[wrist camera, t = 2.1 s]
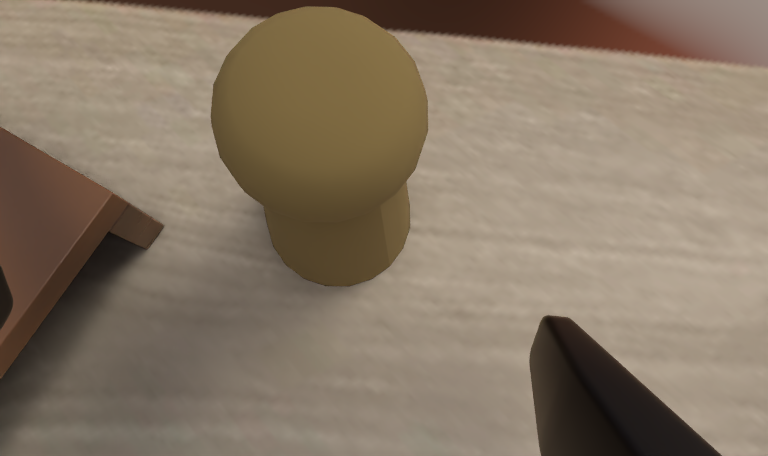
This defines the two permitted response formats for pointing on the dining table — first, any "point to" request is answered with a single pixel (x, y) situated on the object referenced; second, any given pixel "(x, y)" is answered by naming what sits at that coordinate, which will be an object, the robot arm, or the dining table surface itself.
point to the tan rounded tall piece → (324, 138)
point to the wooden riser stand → (51, 233)
